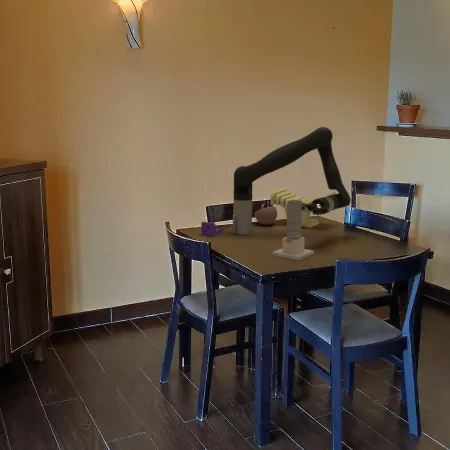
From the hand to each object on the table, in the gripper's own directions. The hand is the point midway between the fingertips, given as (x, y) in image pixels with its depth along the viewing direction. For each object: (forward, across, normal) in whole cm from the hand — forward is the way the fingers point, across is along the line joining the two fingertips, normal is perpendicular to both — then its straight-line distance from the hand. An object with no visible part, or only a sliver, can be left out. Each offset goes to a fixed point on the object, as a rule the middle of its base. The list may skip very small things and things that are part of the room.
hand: (304, 210), depth 251 cm
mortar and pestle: (-34, -43, +18) cm, 57 cm away
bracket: (0, -52, +19) cm, 55 cm away
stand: (+9, 0, +18) cm, 20 cm away
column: (+9, 0, +16) cm, 19 cm away
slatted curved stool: (-46, -28, +18) cm, 57 cm away
